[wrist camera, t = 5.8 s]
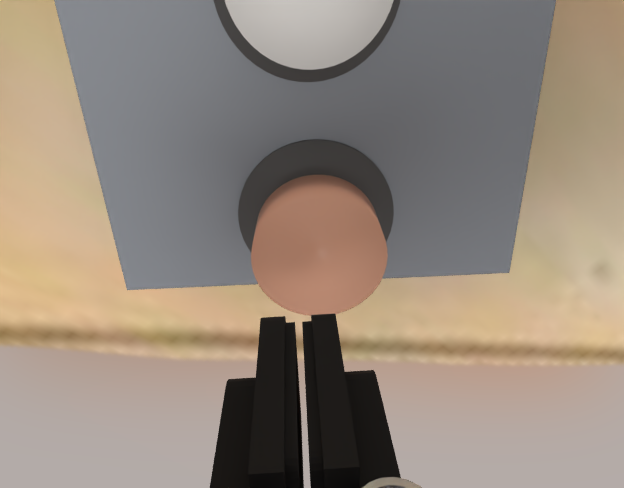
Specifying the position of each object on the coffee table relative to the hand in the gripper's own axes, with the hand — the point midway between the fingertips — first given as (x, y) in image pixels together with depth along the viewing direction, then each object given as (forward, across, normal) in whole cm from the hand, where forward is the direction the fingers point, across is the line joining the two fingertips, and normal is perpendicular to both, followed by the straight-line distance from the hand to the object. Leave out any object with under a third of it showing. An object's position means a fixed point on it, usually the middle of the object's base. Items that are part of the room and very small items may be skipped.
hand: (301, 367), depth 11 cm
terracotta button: (+7, -1, 0) cm, 7 cm away
